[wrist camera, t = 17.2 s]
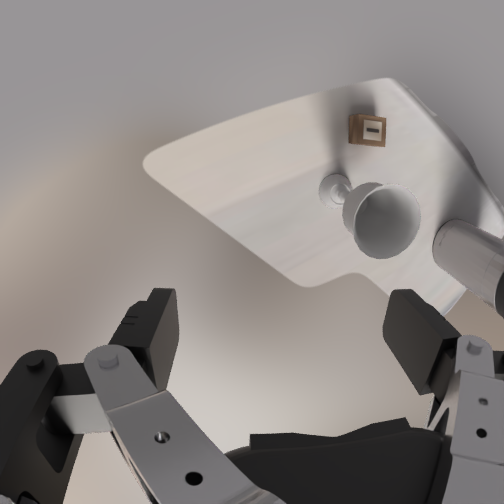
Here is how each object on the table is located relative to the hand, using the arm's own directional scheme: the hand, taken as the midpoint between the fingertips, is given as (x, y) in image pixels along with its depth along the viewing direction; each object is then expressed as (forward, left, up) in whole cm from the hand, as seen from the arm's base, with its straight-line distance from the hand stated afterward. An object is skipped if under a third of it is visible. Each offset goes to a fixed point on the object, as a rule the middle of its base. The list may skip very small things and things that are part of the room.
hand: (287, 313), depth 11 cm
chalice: (-10, -5, -34) cm, 36 cm away
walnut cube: (-8, -15, -34) cm, 38 cm away
